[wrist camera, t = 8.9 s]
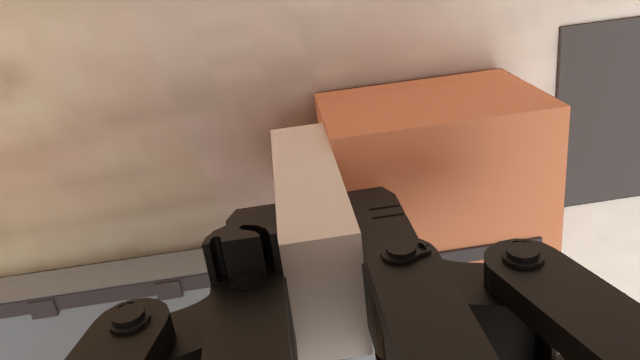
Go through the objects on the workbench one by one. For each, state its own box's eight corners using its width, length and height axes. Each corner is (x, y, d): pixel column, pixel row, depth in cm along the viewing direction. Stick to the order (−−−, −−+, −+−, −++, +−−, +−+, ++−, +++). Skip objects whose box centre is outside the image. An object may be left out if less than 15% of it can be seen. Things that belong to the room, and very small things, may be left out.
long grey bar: (-90, 419, 22) (-119, 459, 20) (-153, 300, 19) (-191, 333, 18) (481, 329, 23) (499, 360, 21) (482, 206, 20) (502, 230, 19)
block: (328, 218, 20) (347, 292, 16) (314, 93, 18) (331, 140, 14) (499, 193, 20) (562, 260, 16) (501, 68, 18) (572, 107, 14)
